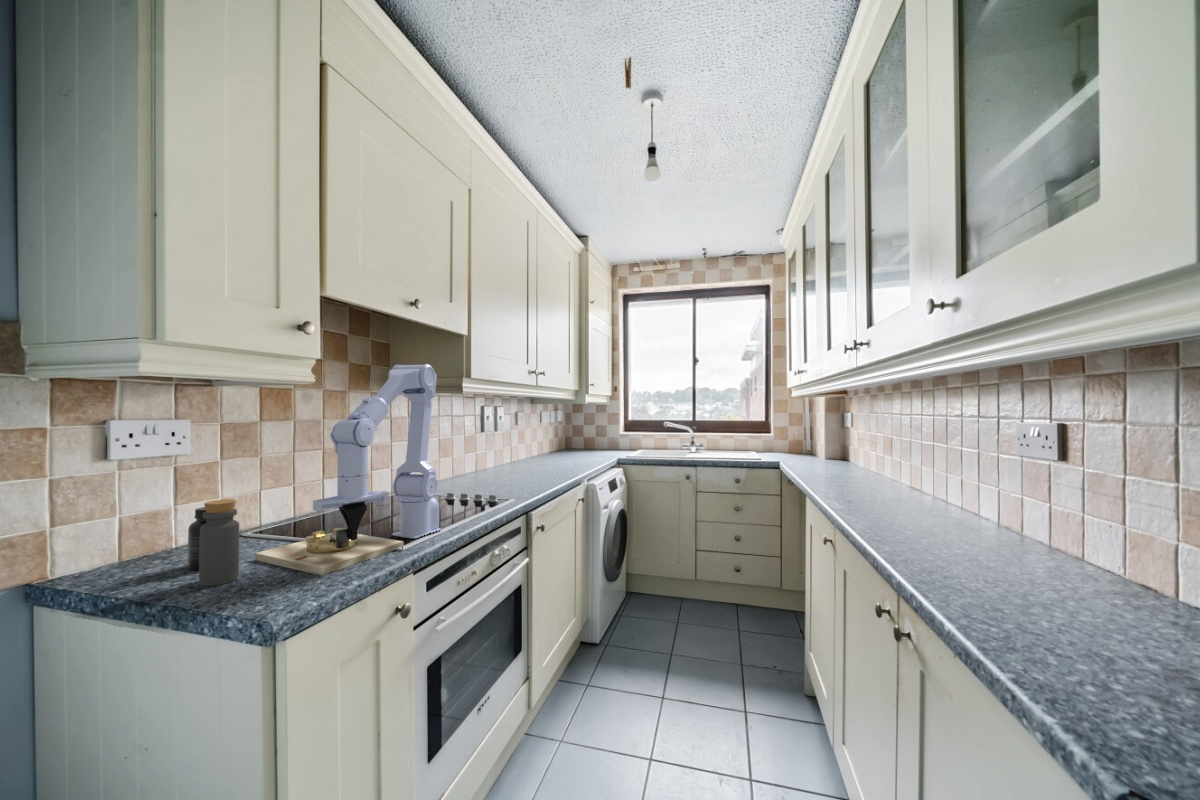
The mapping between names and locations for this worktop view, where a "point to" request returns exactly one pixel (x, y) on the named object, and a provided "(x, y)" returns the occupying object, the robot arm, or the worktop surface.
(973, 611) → the worktop surface
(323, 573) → the base board
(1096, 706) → the worktop surface
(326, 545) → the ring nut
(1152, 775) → the worktop surface
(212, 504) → the bottle
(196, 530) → the supplement bottle
